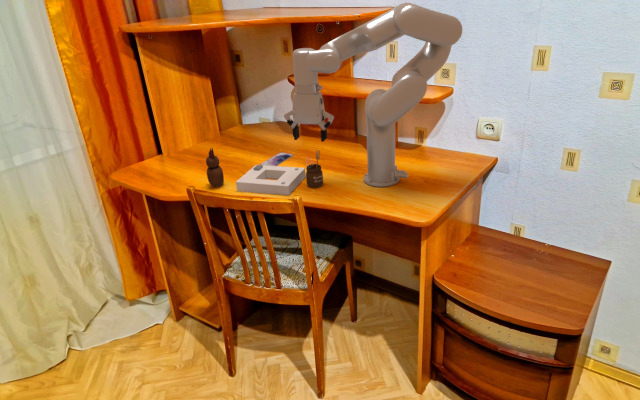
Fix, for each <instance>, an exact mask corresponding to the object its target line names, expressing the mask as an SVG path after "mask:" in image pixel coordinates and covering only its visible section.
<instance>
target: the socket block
mask: <svg viewBox="0 0 640 400" xmlns="http://www.w3.org/2000/svg"><path fill="white" fill-rule="evenodd" d="M305 178H306V167H294V166H281V165H277V166H266V165H260V164H255V165H253V167H251V168H250V169H249V170H248V171H247V172H246V173H244V174H243V175H242V176H241V177H240V178H239V179H237V180H236V181H235V187H236V192H245V193H247V192H248V193H259V194H267V195H268V194H269V195H278V196H279V195H281V196H290V195H291V194H292V192H294V190H296V188H297V187H298V186H299V185H300V184H301V182H302V181H304V180H305Z"/></svg>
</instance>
